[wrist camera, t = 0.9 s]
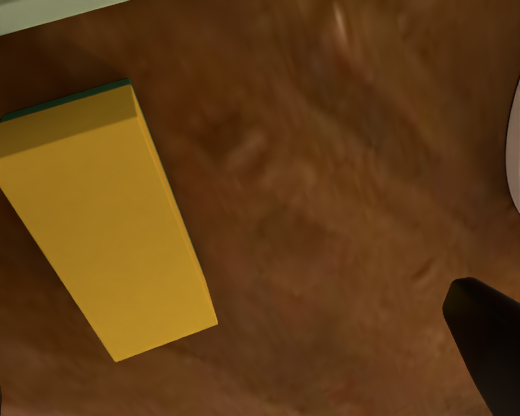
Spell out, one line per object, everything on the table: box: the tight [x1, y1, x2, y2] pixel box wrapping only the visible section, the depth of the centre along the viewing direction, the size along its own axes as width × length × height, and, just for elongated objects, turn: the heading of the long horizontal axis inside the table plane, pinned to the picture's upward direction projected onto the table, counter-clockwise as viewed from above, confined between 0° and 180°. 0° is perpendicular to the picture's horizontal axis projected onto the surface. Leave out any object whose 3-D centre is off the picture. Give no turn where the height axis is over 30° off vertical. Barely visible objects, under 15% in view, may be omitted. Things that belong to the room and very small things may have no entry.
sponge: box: [0, 78, 218, 362], centre depth 20 cm, size 5×11×4 cm, turn 11°
